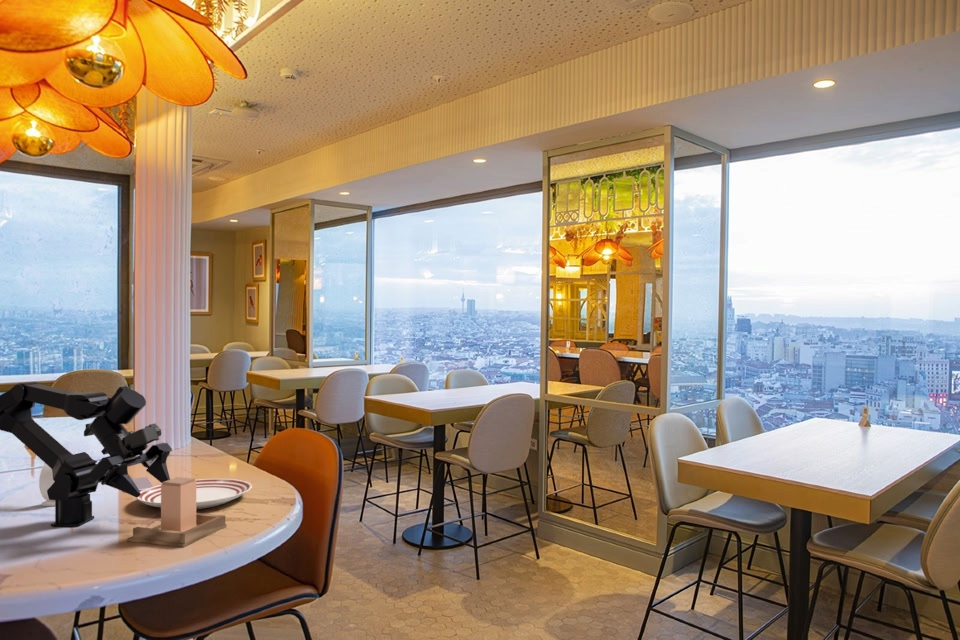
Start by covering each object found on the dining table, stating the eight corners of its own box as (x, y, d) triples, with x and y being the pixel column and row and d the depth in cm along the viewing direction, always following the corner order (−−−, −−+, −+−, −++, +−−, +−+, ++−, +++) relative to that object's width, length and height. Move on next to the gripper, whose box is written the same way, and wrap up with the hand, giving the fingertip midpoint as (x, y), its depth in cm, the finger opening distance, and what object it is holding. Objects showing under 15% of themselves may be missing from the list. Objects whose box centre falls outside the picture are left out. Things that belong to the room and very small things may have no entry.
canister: (161, 532, 143) (161, 482, 143) (177, 525, 148) (177, 476, 148) (180, 534, 142) (180, 483, 142) (196, 527, 147) (196, 478, 147)
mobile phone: (123, 490, 178) (118, 479, 191) (123, 494, 178) (118, 482, 191) (154, 486, 182) (147, 475, 195) (154, 490, 182) (147, 479, 195)
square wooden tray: (127, 541, 140) (127, 528, 140) (174, 521, 153) (174, 510, 153) (183, 547, 136) (183, 534, 136) (226, 526, 150) (226, 515, 150)
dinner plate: (143, 493, 179) (143, 480, 179) (250, 484, 189) (250, 472, 189) (129, 522, 153) (129, 508, 153) (253, 510, 163) (253, 496, 163)
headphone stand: (72, 500, 171) (72, 454, 171) (57, 507, 165) (57, 459, 165) (54, 500, 171) (54, 454, 171) (38, 507, 165) (39, 459, 165)
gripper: (101, 420, 139) (145, 476, 136) (165, 408, 157) (205, 458, 154) (71, 454, 141) (113, 511, 138) (137, 439, 159) (175, 489, 156)
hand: (154, 490), depth 146 cm, fingers open, 9 cm apart
